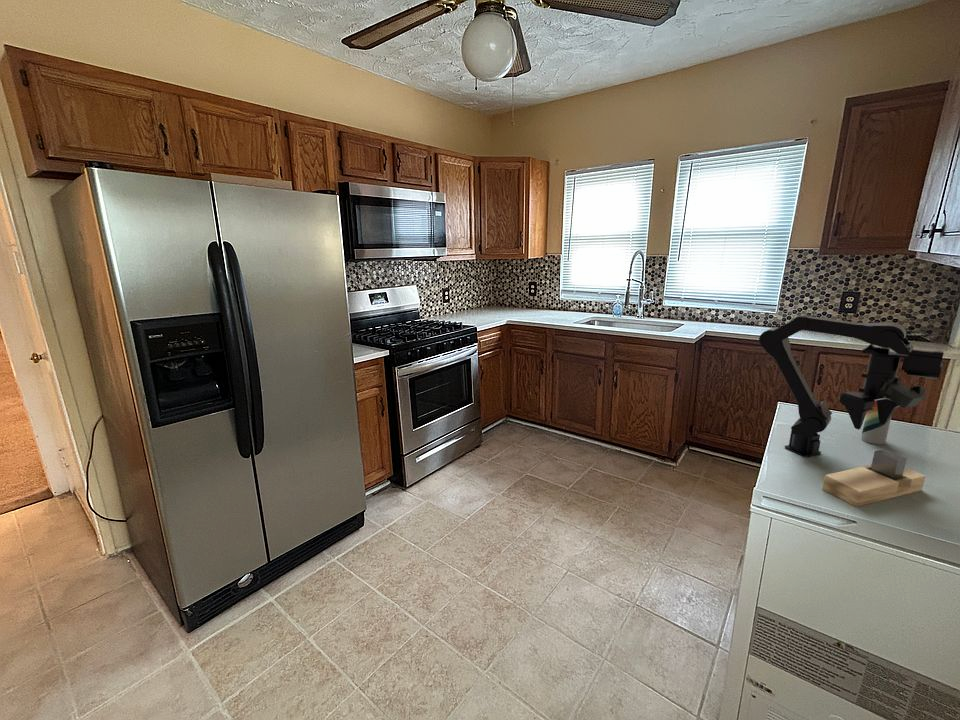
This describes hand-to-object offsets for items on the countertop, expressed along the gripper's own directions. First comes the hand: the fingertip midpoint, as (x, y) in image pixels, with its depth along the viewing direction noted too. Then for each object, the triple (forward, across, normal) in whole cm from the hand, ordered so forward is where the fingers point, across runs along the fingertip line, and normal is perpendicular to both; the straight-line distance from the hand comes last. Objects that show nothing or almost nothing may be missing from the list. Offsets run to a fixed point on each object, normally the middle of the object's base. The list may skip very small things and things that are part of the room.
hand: (869, 426), depth 114 cm
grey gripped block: (+11, -6, -9) cm, 15 cm away
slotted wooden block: (+12, -10, -9) cm, 18 cm away
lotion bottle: (+12, +20, +10) cm, 25 cm away
